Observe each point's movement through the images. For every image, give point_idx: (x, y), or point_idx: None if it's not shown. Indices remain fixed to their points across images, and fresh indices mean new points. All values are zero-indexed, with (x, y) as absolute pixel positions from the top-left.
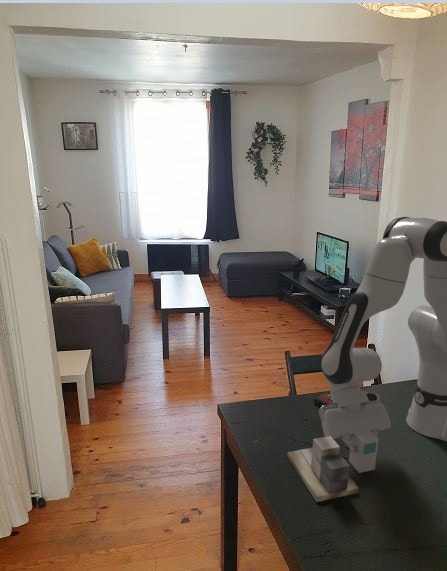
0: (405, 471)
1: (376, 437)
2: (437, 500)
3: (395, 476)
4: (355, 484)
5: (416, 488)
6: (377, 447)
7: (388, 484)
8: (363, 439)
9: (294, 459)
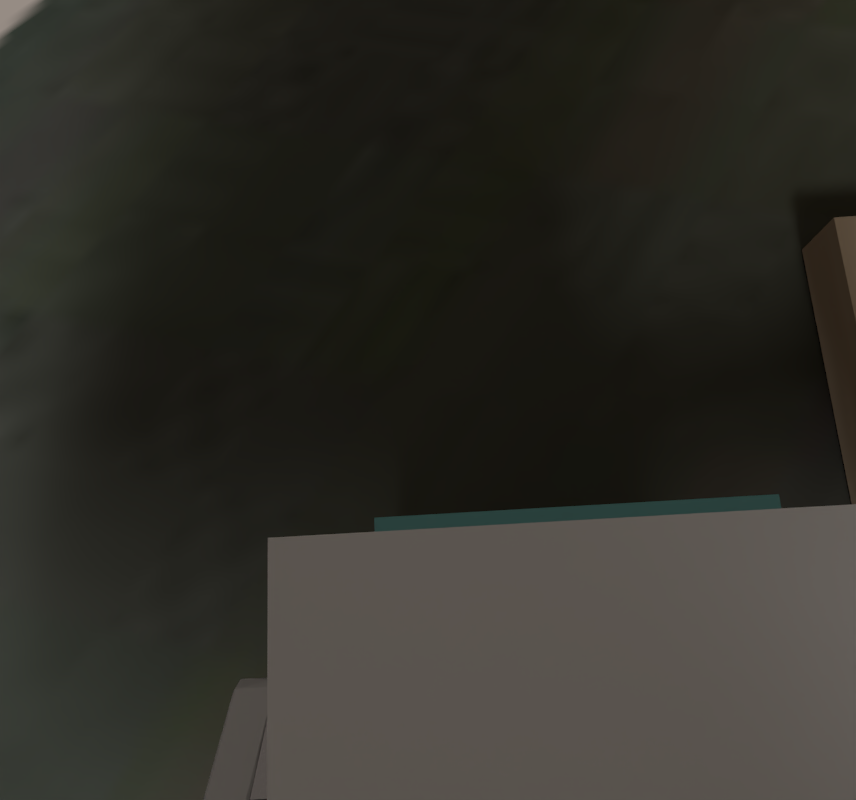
0: (41, 455)
1: (290, 629)
2: (51, 38)
3: (217, 402)
4: (852, 277)
5: (125, 199)
6: (258, 681)
7: (381, 303)
8: (848, 616)
9: None
